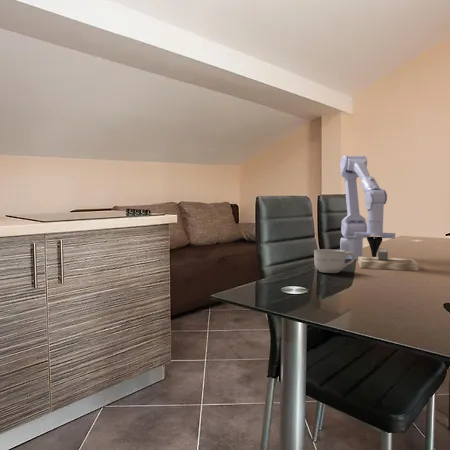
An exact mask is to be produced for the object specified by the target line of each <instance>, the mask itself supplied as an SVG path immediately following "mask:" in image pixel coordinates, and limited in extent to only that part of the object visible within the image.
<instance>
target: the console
mask: <svg viewBox="0 0 450 450" xmlns="http://www.w3.org/2000/svg"><path fill="white" fill-rule="evenodd" d="M357 263H358V265H359V268H360V269H369V270H370V269H371V270H372V269H373V270H374V269H375V270H396V271H420V270H419V269H420V268H419V267H420V263H418V262H417V261H416V260H415V259H413V258H405V257H404V258H401V257H388V260H379V259H378V256H376V257H372V256H363V257H358V260H357Z"/></svg>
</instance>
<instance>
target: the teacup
mask: <svg viewBox="0 0 450 450" xmlns="http://www.w3.org/2000/svg"><path fill="white" fill-rule="evenodd" d="M313 253H314V254H313V256H314V257H313V261H314V267H315V269H316V270H318V271H319V272H320V273H324V274H337V273H340V272H341V271H342V270H343V269H345V268H347V267H348V266H349V265H351V264H353V263H354V262H355V260H356V259H355V255H354V253H352V252H346V253H345V251H344V250H340V249H331V248H330V249H328V248H327V249H326V248H325V249H324V248H322V249H313ZM348 254H350V255H352V259H350V260H349V261H347V262H345V261H346V260H347V259H346V256H347V255H348Z"/></svg>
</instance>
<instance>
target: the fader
mask: <svg viewBox="0 0 450 450" xmlns="http://www.w3.org/2000/svg"><path fill="white" fill-rule="evenodd" d="M388 252H389V249H388V248H387V247H380V246H379V248H378V251H377V257H378V259H379V260H388V258H389V257H388V256H389V253H388Z"/></svg>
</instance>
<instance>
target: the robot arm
mask: <svg viewBox="0 0 450 450" xmlns="http://www.w3.org/2000/svg"><path fill="white" fill-rule="evenodd" d="M339 168H340V169H339V170H340V176H341V177H342V178H343V179H344V188H345V189H344V192H345V202H346V213H347V215H346V216H345V217H344V218H342V220H341V227H340V232H341V235H342V236H343V237H341V238H340V241H339V245H340V247H339V250H344V251H345V253H346V252H352V253H354V255H355V260H357V261H358V257H364V256H363V251H364V250H363V249H364V248H363V247H364V245H363V243H364V239H366V241H367V243H368V245H369V248H370V251H371V257H377V255H378V248H379V247H380V246H381V244H382V242H383V239H392V240H393V239H396V232H384V210H385V209H384V206H385V205H386V203H387V201H388V194H387V191H386V189H383V188H380V186H379V184H378V182H377V180H376V178H375V177H374V176H371V174H370V172H369V169H368V158H367V156H365V155H345V154H344V155H343V156H342V157H341V159H340V162H339ZM357 179H359V180H360V187H361V188H362V191H363V193H364V195H365V196H364V202H365V209H366V210H367V215H366V216H367V217H366V218H365V216H363V215H361V214H360V206H359V193H358V185H357V184H358V182H357ZM351 259H352V255H350V254H348V255H347V256H346V259H345V260H351Z"/></svg>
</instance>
